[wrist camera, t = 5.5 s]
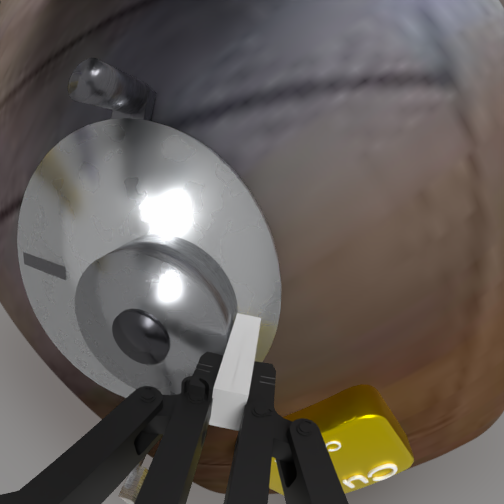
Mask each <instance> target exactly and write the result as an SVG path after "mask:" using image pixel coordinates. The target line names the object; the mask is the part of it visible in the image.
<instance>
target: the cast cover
mask: <svg viewBox="0 0 504 504" xmlns="http://www.w3.org/2000/svg"><path fill="white" fill-rule="evenodd" d="M75 313H76V318H77V322H78V326H79V329H80V331H81V334H82V336H83V338H84V340H85V342H86V344H87V346H88V347H89V349H90V350H91V352H92V353H93V355H94V356H95V357H96V358H97V360H98V361H99V362H100V363H101V364H102V365H103V366H104V367H105V368H106V369H107V370H108V371H109V372H110V373H111V374H113V375H114V376H115V377H117V378H118V379H119V380H121V381H122V382H124V383H125V384H127V385H129V386H131V387H133V388H135V389H138V388H139V387H143V386H152V387H154V388H157V389H158V390H159V391H160V392H161V394H162V395H176V394H180V393H181V382H182V381H183V379H184V378H186V377H188V376H192V375H193V373H194V371H195V369H196V366H197V364H198V362H199V359H200V357H201V356H202V355H203V354H204V353H206V352H207V351H208V352H212V353H216V354H220V355H224V353H225V350H226V347H227V344H228V341H229V337H230V334H231V331H232V328H233V325H234V322H235V319H236V315H237V313H238V305H237V300H236V295H235V292H234V289H233V286H232V284H231V282H230V280H229V278H228V276H227V275H226V273H225V272H224V270H223V269H222V268H221V266H220V265H219V264H218V263H217V262H216V261H215V260H214V259H213V258H212V257H211V256H210V255H209V254H208V253H207V252H205V251H204V250H203V249H201V248H200V247H198V246H197V245H195V244H193V243H191V242H189V241H187V240H185V239H182V238H179V237H176V236H172V235H165V234H150V235H145V236H141V237H138V238H135V239H133V240H132V241H130V242H128V243H126V244H124V245H122V246H120V247H119V248H117V249H115V250H113V251H111V252H110V253H108V254H106V255H104V256H102V257H101V258H99V259H97V260H95V261H94V262H93V263H92V264H90V265H89V266H88V267H87V268H86V270H85V271H84V272H83V274H82V276H81V277H80V279H79V282H78V285H77V288H76V293H75Z"/></svg>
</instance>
